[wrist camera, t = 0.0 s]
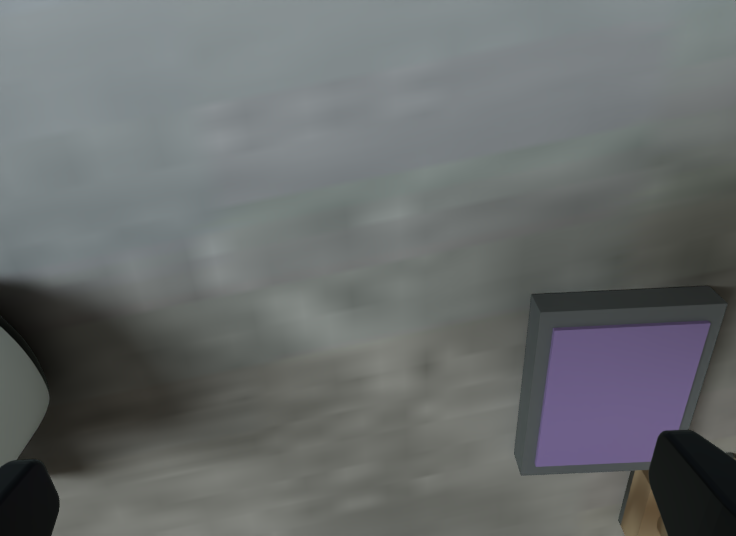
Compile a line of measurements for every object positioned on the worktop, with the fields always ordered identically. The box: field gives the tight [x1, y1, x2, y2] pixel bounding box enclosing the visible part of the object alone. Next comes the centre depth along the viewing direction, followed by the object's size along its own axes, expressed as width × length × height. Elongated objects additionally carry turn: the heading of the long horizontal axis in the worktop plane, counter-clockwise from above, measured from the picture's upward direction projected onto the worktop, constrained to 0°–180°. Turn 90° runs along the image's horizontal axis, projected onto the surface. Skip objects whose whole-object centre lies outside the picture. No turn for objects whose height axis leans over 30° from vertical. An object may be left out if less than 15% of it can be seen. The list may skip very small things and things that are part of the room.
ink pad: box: [514, 286, 728, 476], centre depth 26 cm, size 10×8×2 cm
